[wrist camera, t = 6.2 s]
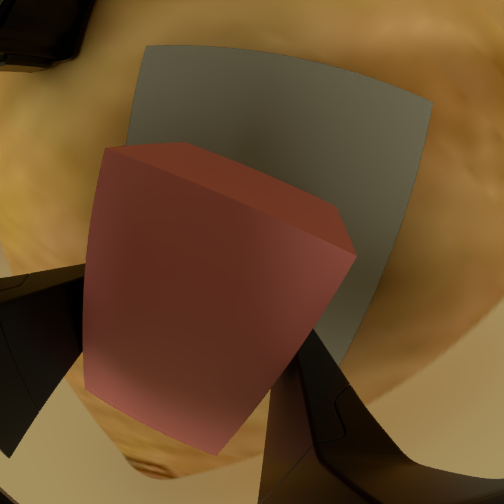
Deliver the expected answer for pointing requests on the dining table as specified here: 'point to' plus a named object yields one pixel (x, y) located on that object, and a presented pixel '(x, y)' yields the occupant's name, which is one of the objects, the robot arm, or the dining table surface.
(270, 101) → the mat
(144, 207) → the red block
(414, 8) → the dining table surface
